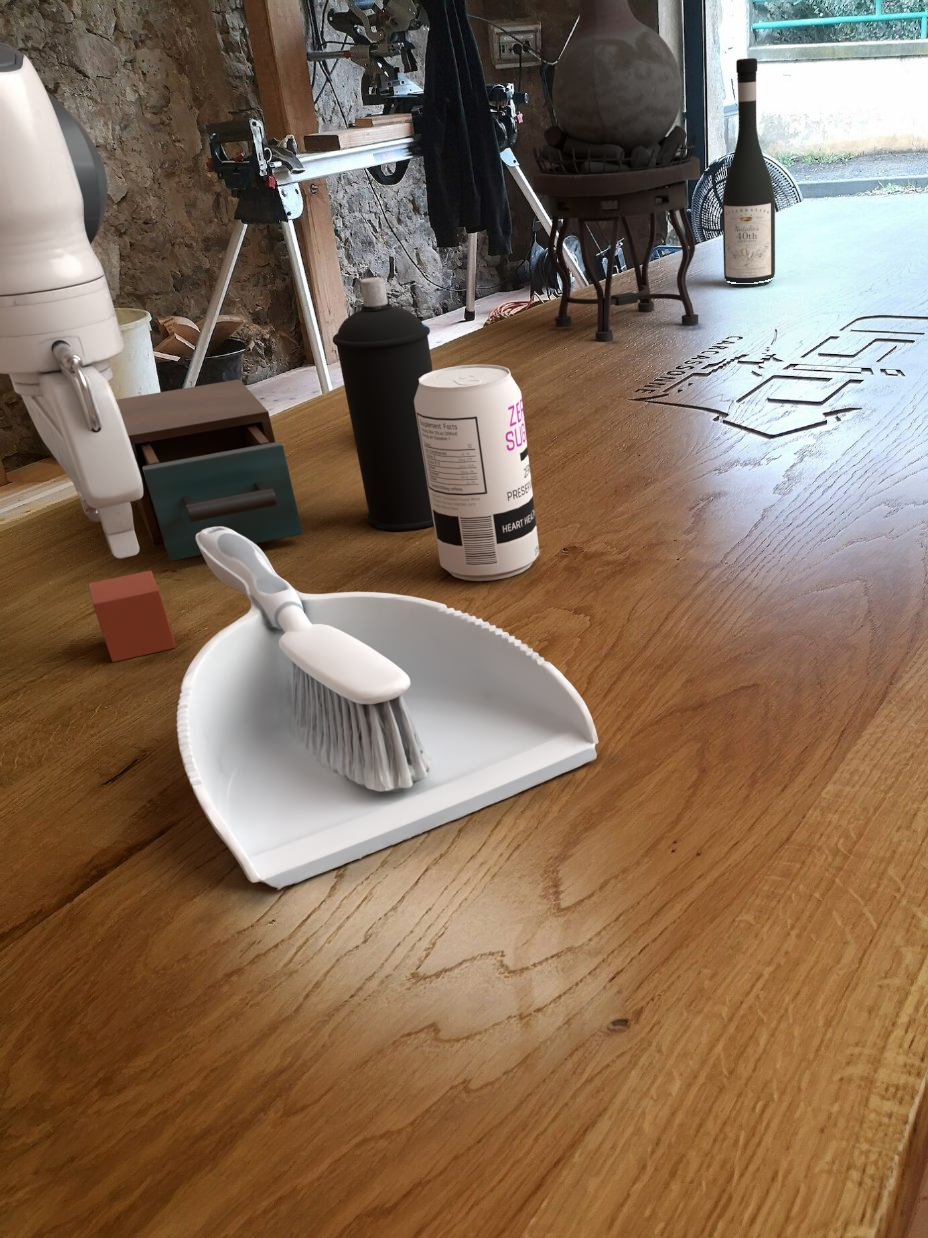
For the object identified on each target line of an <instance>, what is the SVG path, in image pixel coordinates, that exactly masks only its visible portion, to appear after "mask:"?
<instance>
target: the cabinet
mask: <svg viewBox="0 0 928 1238" xmlns="http://www.w3.org/2000/svg"><path fill="white" fill-rule="evenodd" d="M116 402H117V404H118V407H119V410H120V413H121V416H122V419H123V422H124V425H125V428H126V431H127V434H128V437H129V440H130V443H131V446H132V449H133V453H134V456H135V459H136V462H137V465H138V468H139V472H140V475H141V479H142V483H143V497H142V498H141V499H138V500H135V504H136V506H137V509H138V510H139V513H140V515H141V518H142V520H143V522H144V525H145V528H146V529H147V532H148V534H149V537H150V539H151V541H152V543H153V545H157V544H162V543H163V544H164V541H163V537H162V534H161V530H160V527H159V523H158V520H157V517H156V513H155V510H154V506H153V503H152V499H151V496H150V493H149V489H148V486H147V482H146V479H145V475H144V472H143V469H142V467H143V466H144V464H143V461H142V457H141V454H140V451H139V447H138V444H139V443H145V442H150V441H156V440H162V439H167V438H173V437H179V436H184V435H190V434H196V433H201V432H207V431H213V430H218V429H224V428H230V427H236V426H241V425H247V424H253V423H254V424H255V425H256V427H257V428H258V429H259V430H260V431H261V433H262V434H263V435H264V436H265V437H266V439H267V440H268V441H269V443H275V442H276V439H275V433H274V430H273V426H272V422H271V416H270V413H269V411H268V409H267V408H266V407H265V406H264V405H263V404H262V403H261V402H260V401H259V400H258V399H257V397H256V396H255V395H254V394H253V393H252V391H251V390H249V388H248V387H247V386H246V385H245V384H244V383H243V382H242V381H241V379H233V380H227V381H221V382H215V383H209V384H202V385H197V386H191V387H185V388H178V389H173V390H166V391H160V392H154V393H148V394H142V395H136V396H130V397H124V398H118V399H117V398H116Z"/></svg>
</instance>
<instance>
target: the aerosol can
mask: <svg viewBox="0 0 928 1238" xmlns="http://www.w3.org/2000/svg"><path fill="white" fill-rule="evenodd" d="M360 287H361V294H362V300H363V305H364V306H362V307H361V308H360V310H357V311H356V312H354V313H351V314H350V315H349V316H348V317H346V318H345V319H344V320H343V321H342V323H341V325H339V328H338V330H337V333H335V334H334V335H333V336H332V343H333V344H334V345H335V346H336V349H337V355H338V360H339V365H340V370H341V375H342V381H343V385H344V390H345V397H346V401H347V407H348V413H349V418H350V422H351V428H352V431H353V438H354V444H355V448H356V449H355V450H356V455H357V459H358V465H359V470H360V474H361V475H360V476H361V479H362V485H363V490H364V496H365V500H366V505H367V511H368V513H367V515H366V520H367V522H368V524H369V525H370V526H372V527H373V528H376V529H380V530H384V531H396V532H397V531H398V532H399V531H400V532H401V531H414V530H421V529H426V528H430V527H434V522H433V516H432V510H431V503H430V497H429V491H428V485H427V479H426V473H425V466H424V460H423V454H422V448H421V442H420V436H419V429H418V423H417V417H416V411H415V405H414V398H415V395H416V392H417V389H418V386H419V378H420V377H422V376H423V375H425V374H427V373H430V372H432V371H434V369H433V362H432V355H431V350H430V343H429V337H428V336H429V335H430V333H431V328H430V327H429V326H428V325H426V324H425V323H423V322H422V320H421V319H419V318H418V317H417V316H416V315H415V314H414V313H413V312H410V311H409V310H406V309H404V308H400V307H396V306H393V305H392V304H390V303H389V302H388V301H389V300H388V296H387V295H388V294H387V290H386V284H385V278H383V277H380V276H379V277H377V276H375V277H367V278H363V279H361V280H360Z"/></svg>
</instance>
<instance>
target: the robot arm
mask: <svg viewBox="0 0 928 1238" xmlns="http://www.w3.org/2000/svg"><path fill="white" fill-rule="evenodd" d="M108 191H109V187H108V177H107V172H106V168H105V164H104V162H103V160H102V157H101V155H100V152H99V151H98V148H97V146H96V145H95V142H94V141H93V139H92V138H91V136H90V135H89V134H88V132H87V131H86V129H85V128H84V127H83V125H82V124H81V123H80V122H79V121H78V119H77V118H76V117H75V116H74V115H73V114H72V113H71V112H70V111H69V109H67V108H66V106H65V105H63V104H62V103H61V102H60V101H59V100H58V99H57V98H56V97H54V96H53V95H52V94H51V93H50V92H48V91H47V90H46V88H45V86H44V83H43V82H42V80H41V77H40V76H39V74H38V72H37V70H36V69H35V67H34V65H33V63H32V62H31V61H30V59H29V58H28V57H27V56H26V55H25V54H24V53H23V52H22V51H19V50H18V49H16V48H14V47H13V46H12V45H9V44H7V43H4V42H1V41H0V375H9V378H10V380H11V384H12V387H13V389H14V390H13V391H14V393H16V394H18V395H20V397H21V398H22V401H23V403H24V405H25V408H26V410H27V412H28V414H29V416H30V418H31V421H32V422H33V425H34V427H35V429H36V430H37V433H38V435H39V436H40V438H41V440H42V442H43V443H44V445H45V446H46V447H47V449H48V450H49V451H50V453H51V454H52V455H53V457H54V458H55V460H56V461H57V463H58V464H59V465H60V467H61V468H62V470H63V471H64V472H65V474H66V476H67V477H68V478H69V480H70V481H71V482H72V484H73V486H74V489H75V490H76V493H77V495H78V496H79V501H80V503H81V507H82V509H83V512H84V515H85V516H86V517H87V519H88V520H89V521H91V523H99V522H100V523H101V526H102V531H103V534H104V537H105V540H106V543H107V546H108V549H109V551H110V552H111V554H112V555H113V556H114V557H115V558H117V559H120V560H121V559H125V558H129V557H133V556H136V555H138V554H139V552H140V545H139V542H138V539H137V534H136V532H135V525H134V516H133V515H134V514H133V508H132V505H131V502H134V501H135V500H138V499H141V498H142V497H143V483H142V479H141V475H140V472H139V468H138V465H137V462H136V459H135V456H134V453H133V449H132V446H131V443H130V440H129V437H128V434H127V431H126V428H125V425H124V422H123V419H122V416H121V413H120V410H119V407H118V404H117V402H116V400H117V398H116V396H115V394H114V392H113V389H112V387H111V385H110V383H109V382H110V381H112V380H113V378H114V372H113V369H112V366H111V363H110V360H109V359H112V358H114V357H116V356H118V355H120V354H121V353H123V352H124V350H125V349H126V345H125V341H124V338H123V337H124V336H123V335H122V334H123V333H122V331H121V327H120V324H119V321H118V320H119V319H118V317H117V314H116V309H115V306H114V302H113V299H112V295H111V291H110V288H109V285H108V282H107V278H106V274H105V272H104V271H105V270H104V268H103V266H102V263H101V262H100V260H99V258H98V257H97V255H96V253H95V251H94V250H93V248H92V246H91V245H92V244H93V241H94V240H95V239H96V237H97V236H98V233H99V231H100V230H101V228H102V227H101V226H102V224H103V221H104V219H105V214H106V210H107V203H108V195H109V192H108ZM135 502H136V501H135Z"/></svg>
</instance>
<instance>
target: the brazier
mask: <svg viewBox="0 0 928 1238" xmlns="http://www.w3.org/2000/svg"><path fill="white" fill-rule="evenodd" d="M577 1H578V23H577V28H576V29H577V30H576V31H575V33H574V35H573V37H572V38H571V39H570V41H569V42H568V43H567V45H566V46H565V48H564V49H563V51H562V52H561V54H560V55H559V58H558V61H557V63H556V66H555V70H554V75H553V78H552V79H553V80H552V91H551V94H552V108H553V111H554V114H555V118H556V121H557V122H558V124H559V125H555V124H554V125H550V127H548V128H547V129H546V130H544V131H543V137H544V140H545V142H546V144H543V145H542V148H541V147H538V153H539V155H538V153H537V149H536V146H533V148H532V152H533V156H534V157H533V158H534V160H535V163H536V165H537V166H538V169H535V170H532V171H531V182H532V191H533V193H535V194H538V195H542V196H547V200H548V209H549V214H550V215H551V217H552V218H551V219H552V220H551V228H550V232H549V237H548V242H547V257H548V260H549V262H550V265H552V267H553V269H554V270H555V272H556V273H557V275H558V276H559V278H560V281H561V287H562V288H561V289H562V290H561V298H560V303H559V308H558V315H557V316H555V317H554V322H555V323H554V325H555V327H569V326H571V325H572V324H573V321H572V316H571V315H568V306H569V304H575V305H576V304H577V305H597V315H596V316H597V318H596V319H597V320H596V325H597V328H596V329H597V330H596V331H594V335H595V336H594V337H595V341H596V342H608V341H613V339H614V335H613V334H614V333H613V329H611V323H610V322H611V306H617V307H619V306H625V305H631V304H637V311H638V312H641V313H645V312H647V313H649V312H653V311H654V310H655V306H654V305H655V302H654V301H652V300H674V301H675V300H676V301H680V302H682V305H683V308H684V313H685V314H683V315H681V325H682V326H696V325H698V324H699V314H697V313H695V311H694V307H693V303H692V300H691V297H690V295H689V292H688V288H687V283H686V282H687V280H686V279H687V278H686V276H687V273H688V270H689V267H690V266H691V263H692V260H693V259H694V255H695V252H696V240H695V235H694V232H693V229H692V226H691V224H690V222H689V218H688V215H687V211H686V204H687V183H686V181H689V180H691V181H692V180H693V181H694V180H701V167H700V166H701V164H700V163H701V162H700V161H701V160H700V158H699V157H696V156H694V155H693V152H694V149H695V145H696V137H697V134H693V135H692V137H688V135H687V132H686V130H685V129H683V127H682V126H680V125H678V124H677V125H675V126H674V124H675V122H676V119H677V117H678V114H679V111H680V108H681V104H682V97H683V84H682V81H683V80H682V76H681V73H680V72H681V71H680V68H679V65H678V62H677V60H676V57H675V55H674V53H673V52H672V50H671V48H670V47H669V45H668V44H667V42H666V41H665V40H664V39H663V38H662V36H661V35H660V34H658V33H657V32H656V31H655V30H654V29H652V28H651V27H648V26H647V25H646V24H644V23H642V22H641V21H640V20H638V19H637V18H636V17H635V16H634V14H633V12H632V10H631V8H630V6H629V3H628V0H577ZM673 126H674V127H673ZM672 127H673V128H672ZM678 153H679V154H678ZM685 153H686V154H685ZM692 155H693V156H692ZM545 162H546V163H549V165H550V167H547V165H546V163H545ZM543 167H544V168H543ZM657 199H660V200H661V202H659V203H657ZM609 202H612V203H613V204H615V202H617V203H616V204H617V208H610V209H609V208H604V207H603V204H604V203H606V204H609ZM666 211H668V217H669V220H670V223H671V226H672V228H673V231H674V233H675V235H676V236H677V238H678V241H679V244H680V246H681V252H682V256H681V261H680V263H679V268H678V270H677V276H676V285H677V291H678V293H679V294H677V293H651V288H650V282H649V264H650V261H651V259H652V254H653V252H654V248H655V244H656V240H657V234H658V233H657V232H658V231H657V229H658V217H657V213H661V212H666ZM677 212H678V213H679V216H680V220H681V223H682V226H683V227H684V230H685V233H686V235H685V234H684V231H683V229H682V227H681V225H680V222H679V219H678V217H677ZM648 214H649V221H650V224H649V225H650V228H649V229H650V230H649V241H648V244H647V248H646V252H645V255H644V257H643V261H642V265H641V266H640V260H639V255H638V252H637V247H636V241H635V238H634V235H633V232H632V228H631V226H630V223H629V220H628V217H633V216H640V215H641V216H642V215H648ZM560 218H562V222H561V226H560V228H559V223H560V221H559V220H560ZM571 219H577V223H578V224H577V225H578V233H579V247H580V255H581V260H582V265H583V268H584V271H585V272H586V274H587V276H588V279H589V280H590V282H591V283H592V285H593V287H594V290H595V291H596V298H575V297H571V291H572V277H571V274H570V270H569V267H568V265H567V262H566V259H565V256H564V252H563V251H564V250H563V249H564V243H565V242H564V241H565V237H566V234H567V231H568V229H569V225H570V221H571ZM589 222H590V223H591V222H612V234H611V240H610V245H609V251H608V255H607V256H608V257H607V263H606V273H605V284H604V290H603V287H602V284H601V282H600V280H599V278H598V277H597V275H596V273H595V271H594V269H593V267H592V265H591V261H590V257H589V256H590V255H589V249H588V240H587V239H588V237H587V224H586V223H589ZM620 222H621V223H622V226H623V228H624V231H625V234H626V238H627V241H628V247H629V250H630V256H631V259H632V265H633V268H634V274H635V280H636V286H637V292H632V291H629V292H623V293H618V294H617V293H616V294H612V282H613V272H614V263H615V257H616V250H617V245H618V240H619V233H620V224H621V223H620ZM558 228H559V232H558ZM557 232H558V235H557ZM556 237H557V240H556ZM686 237H687V238H686ZM555 241H556V244H555Z"/></svg>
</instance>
